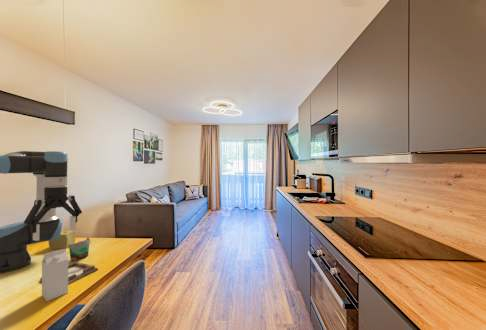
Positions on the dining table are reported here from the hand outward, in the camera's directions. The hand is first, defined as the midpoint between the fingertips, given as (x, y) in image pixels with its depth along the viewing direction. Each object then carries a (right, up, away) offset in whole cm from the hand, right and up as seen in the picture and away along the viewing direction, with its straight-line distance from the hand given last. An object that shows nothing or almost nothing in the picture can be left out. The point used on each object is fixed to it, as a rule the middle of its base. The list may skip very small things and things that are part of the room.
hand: (55, 234), depth 89 cm
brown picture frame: (-7, -26, +16) cm, 31 cm away
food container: (-16, -26, +35) cm, 47 cm away
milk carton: (0, -26, 0) cm, 26 cm away
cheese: (-43, -26, +52) cm, 73 cm away
